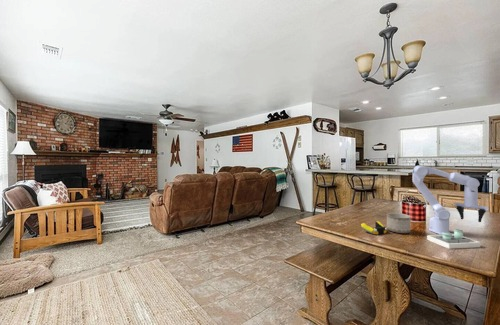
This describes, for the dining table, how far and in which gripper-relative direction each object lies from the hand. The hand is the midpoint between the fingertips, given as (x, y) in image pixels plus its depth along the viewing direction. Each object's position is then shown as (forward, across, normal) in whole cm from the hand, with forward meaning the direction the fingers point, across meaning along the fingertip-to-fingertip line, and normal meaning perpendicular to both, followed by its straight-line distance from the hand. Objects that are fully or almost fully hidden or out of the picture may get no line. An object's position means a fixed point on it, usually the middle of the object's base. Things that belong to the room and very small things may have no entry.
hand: (470, 220), depth 134 cm
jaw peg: (+8, 0, -20) cm, 21 cm away
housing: (+9, -2, -23) cm, 25 cm away
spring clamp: (+10, -36, -39) cm, 54 cm away
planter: (+10, -28, -25) cm, 39 cm away
